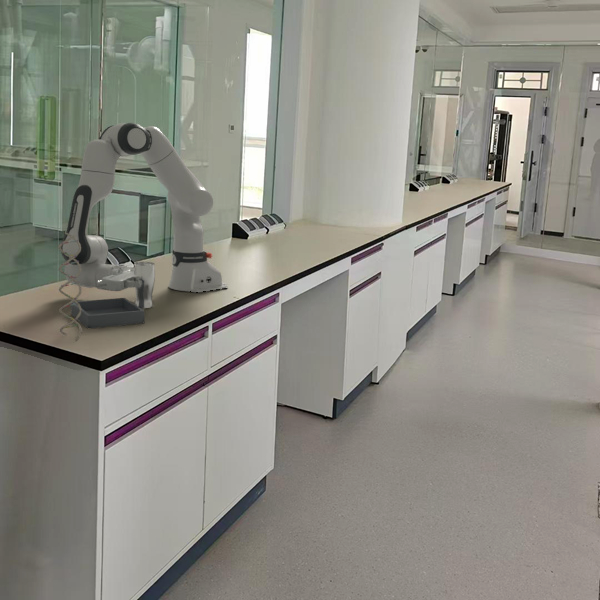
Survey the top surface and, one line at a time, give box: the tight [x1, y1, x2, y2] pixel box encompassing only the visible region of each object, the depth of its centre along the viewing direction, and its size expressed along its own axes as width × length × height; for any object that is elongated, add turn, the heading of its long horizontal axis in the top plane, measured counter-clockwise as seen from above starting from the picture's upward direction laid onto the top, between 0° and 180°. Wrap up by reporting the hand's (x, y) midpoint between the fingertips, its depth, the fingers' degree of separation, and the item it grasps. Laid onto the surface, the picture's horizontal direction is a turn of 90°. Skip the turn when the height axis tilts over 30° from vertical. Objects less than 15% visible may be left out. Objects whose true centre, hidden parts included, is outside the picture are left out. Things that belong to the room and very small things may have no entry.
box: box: [70, 297, 145, 329], centre depth 228 cm, size 18×18×4 cm
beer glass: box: [133, 260, 156, 310], centre depth 244 cm, size 7×7×15 cm
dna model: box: [58, 231, 83, 341], centre depth 204 cm, size 7×6×30 cm
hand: (146, 282), depth 243 cm, fingers closed on beer glass, 6 cm apart
